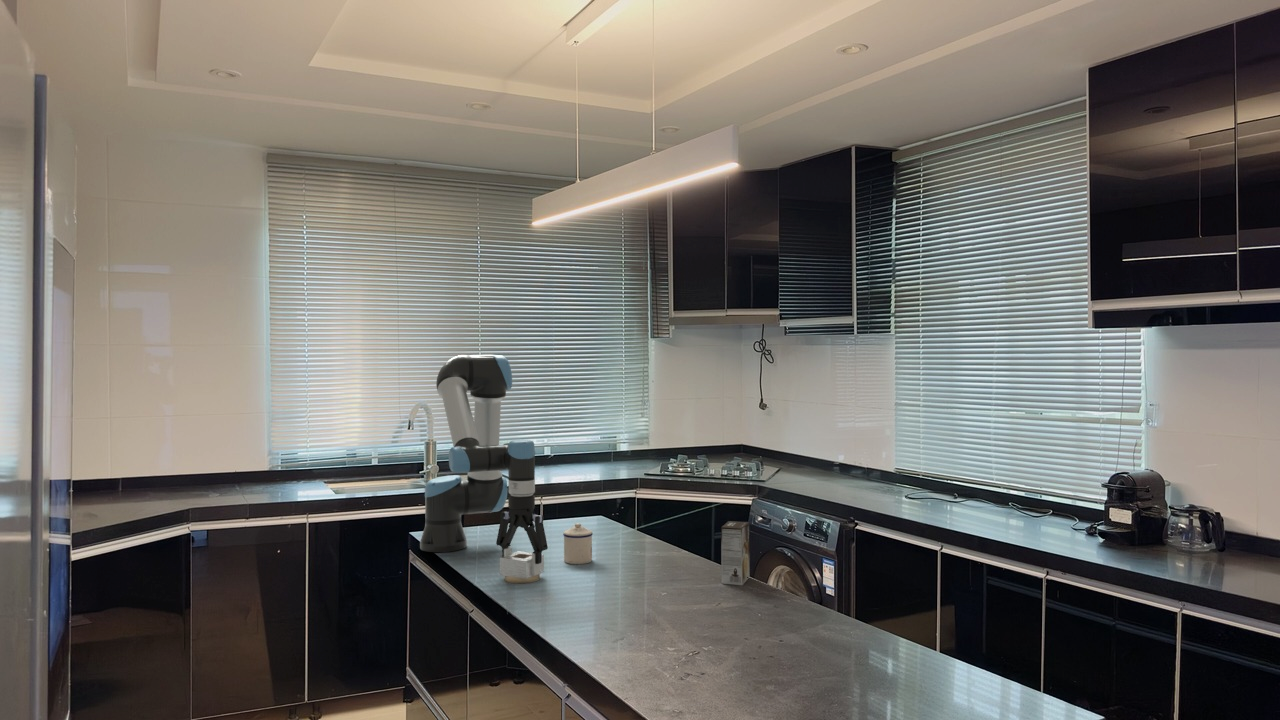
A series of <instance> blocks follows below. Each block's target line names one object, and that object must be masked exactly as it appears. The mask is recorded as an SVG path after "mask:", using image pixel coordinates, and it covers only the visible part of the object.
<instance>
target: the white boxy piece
mask: <svg viewBox="0 0 1280 720" xmlns="http://www.w3.org/2000/svg"><path fill="white" fill-rule="evenodd" d="M532 553H533V552H527V551H521V550H517V551H514V552H512V554H509V555H506V556H503V557H502V556H500V557H499V576H503V577H505V576H508V577H515V578H522V579H528V578H530V577H532ZM523 558H524V559H523ZM544 572H545V554H543V553H542V562H541V563H540V574H541V573H544Z"/></svg>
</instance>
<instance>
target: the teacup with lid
mask: <svg viewBox="0 0 1280 720" xmlns="http://www.w3.org/2000/svg"><path fill="white" fill-rule="evenodd" d="M562 536H563V560H564V563H566V564H571V565H585V564H588V563H591V562H592V561H593V542H592V541H593V531H592V530H591V529H588V528H586V527H585V526H582V524H581V523H579V522H577V523H574V526H572V527H571V528H569V529H566V530H564V531H563V535H562Z"/></svg>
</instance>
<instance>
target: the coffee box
mask: <svg viewBox="0 0 1280 720" xmlns="http://www.w3.org/2000/svg"><path fill="white" fill-rule="evenodd" d="M720 530H721V531H720V532H721V533H720V537H721V538H720V540H721V543H720V544H721V547H720V548H721V549H720V551H721V553H720V555H721V562H720V563H721V575H720V576H721V577H720V578H721V584H723V585H724V584H725V585H733V586H735V585H737V586H743V585H744V584H745V583H746V582H747V581H748V579H749V578H750V576H751V575H750V522H749V521H737V520H735V521H734V520H727V522H726V523H725V524H724V525H722V526H721V528H720ZM747 577H749V578H747Z"/></svg>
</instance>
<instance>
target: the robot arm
mask: <svg viewBox="0 0 1280 720" xmlns="http://www.w3.org/2000/svg"><path fill="white" fill-rule="evenodd" d="M435 383H436V391H437V394H438V396H439V397H440V398H441V399H442V402H443V406H444V411H445V414H446V420H447V423H448V427H449V432H450V436H451V441H452V445H453V446H452V447H451V448H450V449H449V451H448V466H449V469H450V471H451V472H452V473H456V474H454V475H444V476H439V477H436V478H433V479H430V480H428V481H427V482H426V484H425V488H424V490H425V491H424V500H425V501H424V502H425V503H424V504H425V505H424V509H425V512H424V513H425V514H424V515H425V516H424V517H425V520H424V521H425V523H424V529H423V532H422V534H421V538H420V541H419V549H420V551H422V552H427V553H450V552H456V551H459V550H464V549H465V548H467V541H468V540H467V537H466V533H465V531H464V528H463V525H462V516H463V515H474V514H484V513H485V514H486V513H487V514H491V513H494V512H495V513H496V512H500V511H501V510H503V509H504V507H505V505H506V502H508V503H507V507H508V508H509V511H507V510H505V511H502V512H500V513H499V516H500V521H499V527H498V532H497V535H496V536H497V538H496V543H495V544H496V546H500V548H501V557H503V556H506V555H509V554H512V553H513V547H512V544H511V543H512V540H513V538H514V536H515V534H516V532H517V530H518V528H522V529H523V530H524V531H525V532H526V534H527V536H528V539H529V542H530V544H531V546H532V549H533V552H531V553H532V576H536V575H538V574H540V575H541V573H540V563H541V562H542V554H543V553H542V552H544V551H547V550H548V543H547V542H548V541H547V537H546V531H545V526H544V515H542V514H540V515H538V514H536V513H535V510H534V509H535V508H536V506H535V505H536V497H535V495H534V494H535V493H536V482H535V481H536V480H535V477H536V476H535V475H536V471H535V470H536V469H535V467H536V465H535V461H536V450H535V443H534V441H533V440H531V439H530V440H528V439H514V440H510V441H509V442H507V443H504V444H500V436H501V435H500V432H501V431H500V430H501V410H502V409H501V407H502V400H504V398H506V396H507V391H510V390H511V389H512V385H513V374H512V368H511V365H510V362H509V360H508V359H507V357H506V356H504V355H498V354H471V355H470V354H468V355H467V354H461V355H455V356H454V357H452V358H450V359H448V361H446V362H445V363H444V364H443V366H442V367H441V368H440V370H439V371H438V374H437V377H436V381H435ZM468 391H469V392H470V393H469V395H470V396H471V397H472V399H473V400H474V413H472V409H471V405H470V402H469V397H468V394H467V392H468ZM473 414H474V415H473ZM502 471H508V473H507V474H508V475H507V476H508V477H507V478H508V479H507V478H506V477H504V476H503V472H502ZM459 473H460V474H461V473H464V474H467V478H466V479H465V478H464V479H462V477H461V475H458V474H459ZM507 480H508V481H507ZM508 494H509V495H508ZM507 498H508V500H507Z"/></svg>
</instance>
